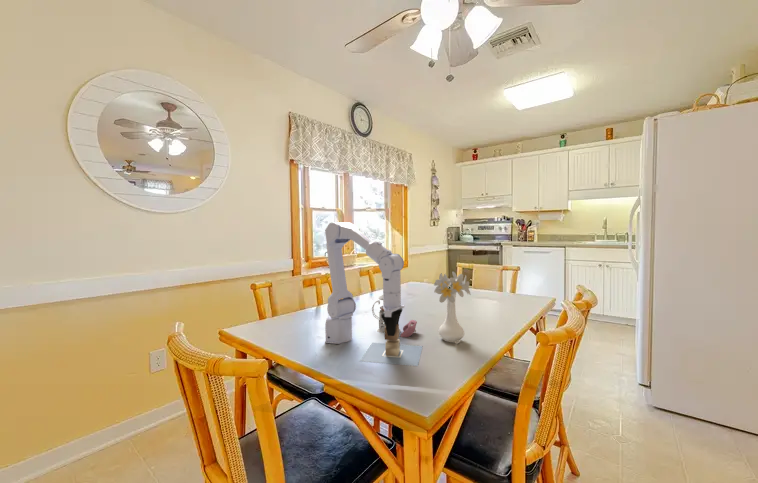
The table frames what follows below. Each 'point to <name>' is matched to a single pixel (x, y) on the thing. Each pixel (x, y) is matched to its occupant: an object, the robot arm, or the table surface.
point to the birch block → (392, 347)
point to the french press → (381, 321)
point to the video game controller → (409, 329)
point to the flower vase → (451, 305)
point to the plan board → (405, 357)
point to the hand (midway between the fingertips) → (392, 333)
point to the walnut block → (394, 335)
